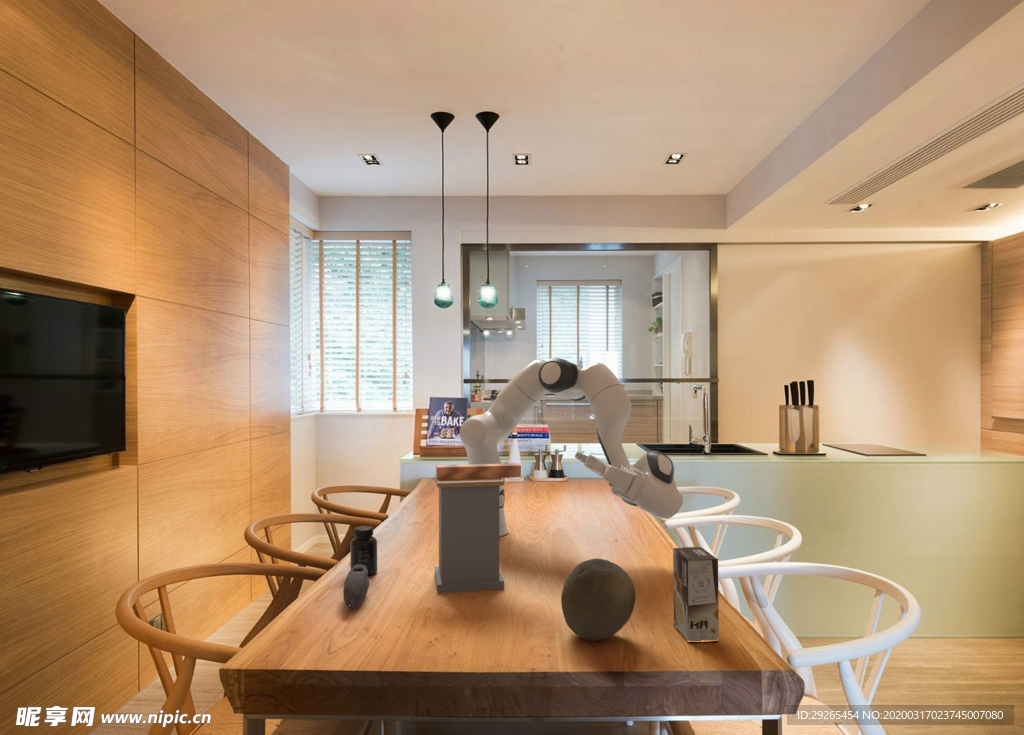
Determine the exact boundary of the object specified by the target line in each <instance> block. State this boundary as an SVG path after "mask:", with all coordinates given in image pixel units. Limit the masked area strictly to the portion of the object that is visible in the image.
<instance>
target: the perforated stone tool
mask: <svg viewBox="0 0 1024 735" xmlns="http://www.w3.org/2000/svg"><path fill="white" fill-rule="evenodd" d="M369 586H370V579H369V577H368V570H367V568H366V566H365V565H362V564H356V565H355V566H354V567H353V568H352V569H351V568H350V570H349V571H348V573H347V574H346V577H345V580H344V584H343V592H342V593H343V600H344V604H345V606H346V608H347V610H350V611H353V610H355V609H357V608H358V607H359V606H360V605H361V604H362V603H363V601H364V600H365V597H366V595H367V594H368V590H369ZM349 605H350V606H349Z"/></svg>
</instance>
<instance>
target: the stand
mask: <svg viewBox="0 0 1024 735" xmlns="http://www.w3.org/2000/svg"><path fill="white" fill-rule="evenodd" d="M434 479H435V483H436V487H437V488H438V566H434V578H435V587H436V593H437V594H444V593H445V594H446V592H449V593H462V592H463V593H464V591H466V592H478V591H479V592H480V590H483V591H496V590H495V589H500V590H505V580H504V578H503V575H502V573H501V572H500V536H499V486H501V485H503V486H505V481H504V479H503V480H502V479H501V478H480V479H445V480H437V478H436V473H434Z"/></svg>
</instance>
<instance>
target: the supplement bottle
mask: <svg viewBox="0 0 1024 735" xmlns="http://www.w3.org/2000/svg"><path fill="white" fill-rule="evenodd" d="M353 532H354V533H353V536H354V538H352V539H351V541H350V543H349V544H350V545H349V548H350V549H349V550H350V555H349V556H350V570H351V569H352V568H353V567H354V566H355V565H356V564H362V565H365V566H366V568H367V570H368V578H370V577H373V576H375V575H376V574H377V573H378V540H377V538H376V537H374V536H373V535H374V527H373V526H372V525H371V526H370V525H361V526H356V527H354V529H353Z"/></svg>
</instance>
